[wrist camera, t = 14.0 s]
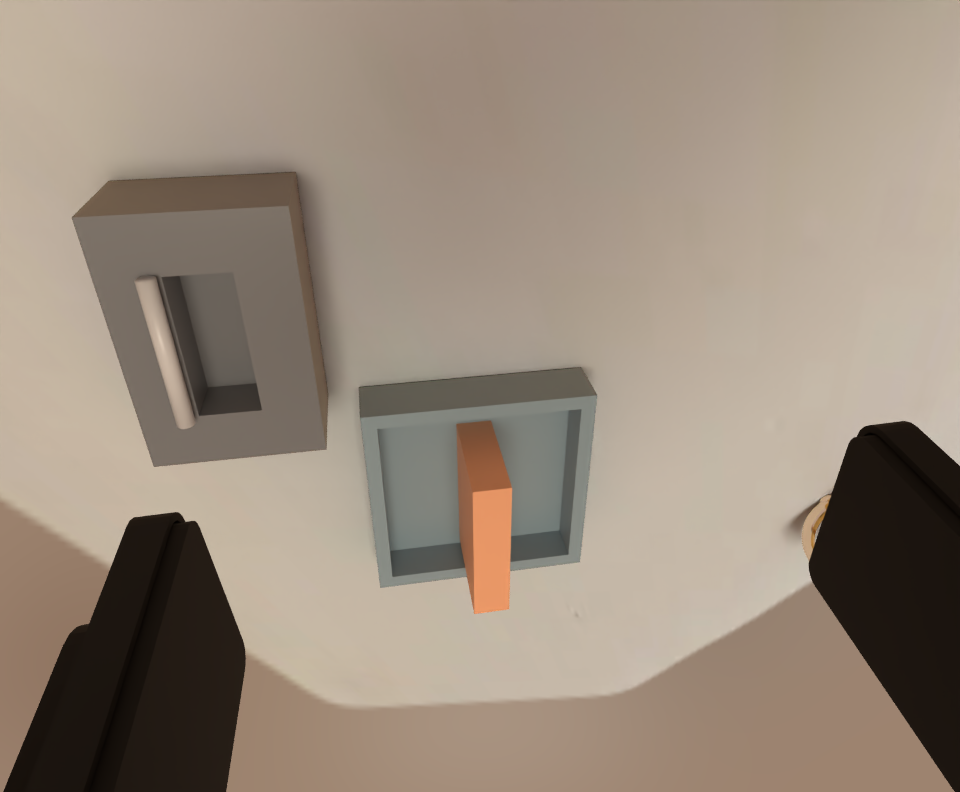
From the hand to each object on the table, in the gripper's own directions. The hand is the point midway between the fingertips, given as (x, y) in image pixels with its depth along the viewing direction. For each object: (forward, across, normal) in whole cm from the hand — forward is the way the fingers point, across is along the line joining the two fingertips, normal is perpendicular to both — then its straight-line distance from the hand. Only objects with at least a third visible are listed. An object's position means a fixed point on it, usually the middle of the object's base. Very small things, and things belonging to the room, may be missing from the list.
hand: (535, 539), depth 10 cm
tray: (+25, -2, +20) cm, 32 cm away
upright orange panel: (+21, -1, +25) cm, 33 cm away
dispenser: (+25, +10, +8) cm, 28 cm away
